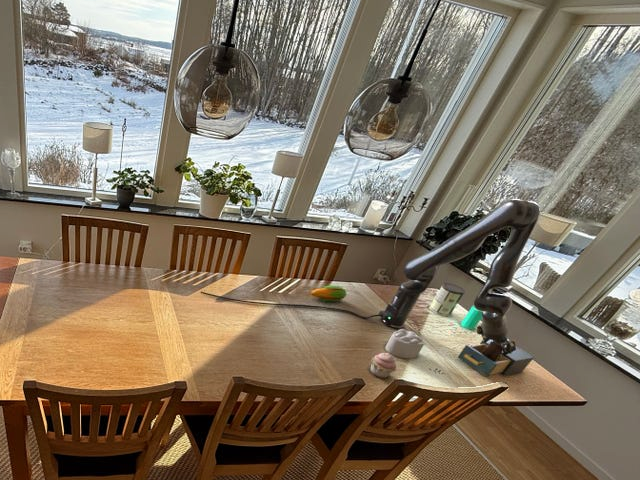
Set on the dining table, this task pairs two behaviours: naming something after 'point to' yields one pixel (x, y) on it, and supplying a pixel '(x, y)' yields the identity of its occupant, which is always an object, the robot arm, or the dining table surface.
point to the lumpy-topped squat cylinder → (405, 344)
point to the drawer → (483, 360)
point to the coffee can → (447, 299)
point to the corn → (329, 293)
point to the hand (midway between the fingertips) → (496, 346)
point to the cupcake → (383, 365)
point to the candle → (472, 318)
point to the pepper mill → (493, 351)
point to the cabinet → (515, 361)
